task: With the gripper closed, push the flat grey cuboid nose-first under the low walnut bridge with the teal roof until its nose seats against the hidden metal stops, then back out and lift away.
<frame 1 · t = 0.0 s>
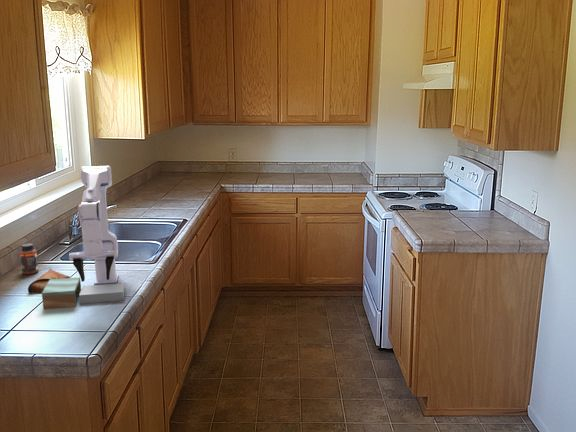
hand: (95, 279, 179), 10 cm above the worktop, fingers open, 7 cm apart
supplement bottle: (30, 272, 217), on the worktop
overhang bridge: (63, 300, 189), on the worktop
flat grey cuboid: (103, 297, 191), on the worktop
sunglasses case: (50, 286, 204), on the worktop
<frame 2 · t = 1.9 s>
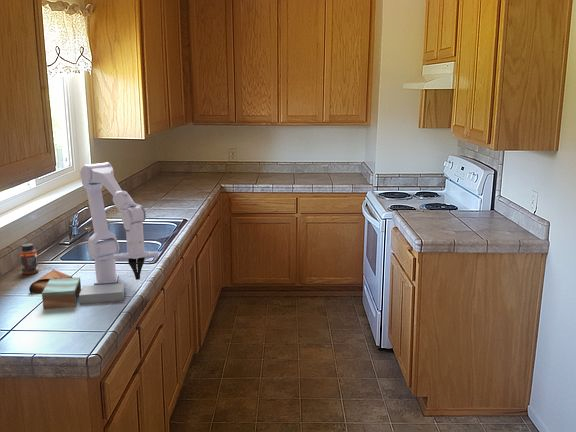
hand: (137, 278, 193), 6 cm above the worktop, fingers closed
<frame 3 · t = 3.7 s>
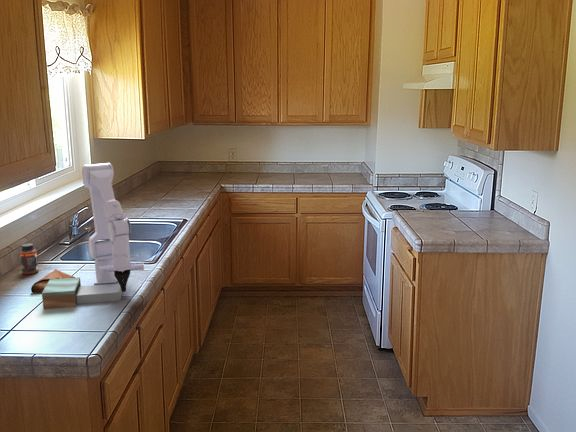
hand: (123, 290, 193), 2 cm above the worktop, fingers closed
flat grey cuboid: (100, 297, 191), on the worktop, touching gripper
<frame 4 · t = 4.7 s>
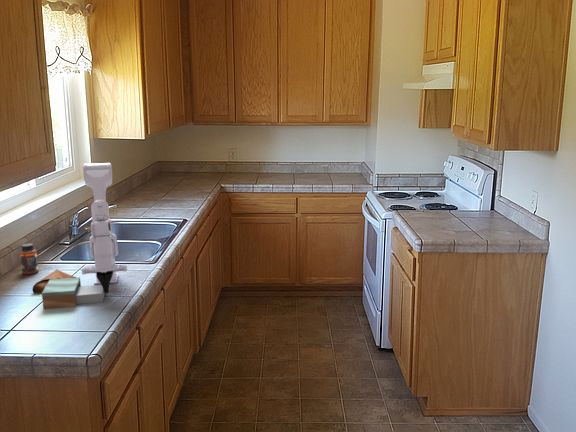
hand: (106, 292, 191), 2 cm above the worktop, fingers closed
flat grey cuboid: (82, 298, 190), on the worktop, touching gripper
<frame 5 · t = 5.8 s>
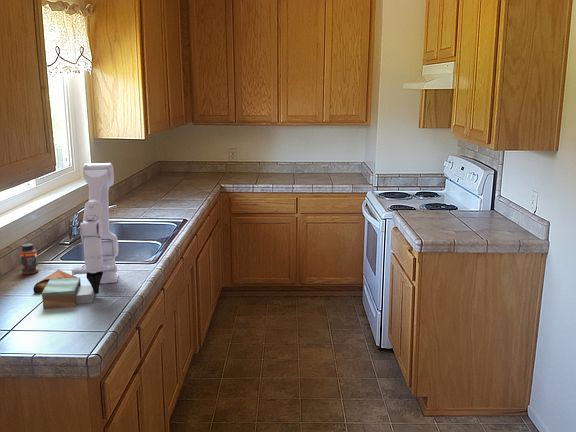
hand: (96, 292, 191), 2 cm above the worktop, fingers closed
flat grey cuboid: (72, 299, 189), on the worktop, touching gripper
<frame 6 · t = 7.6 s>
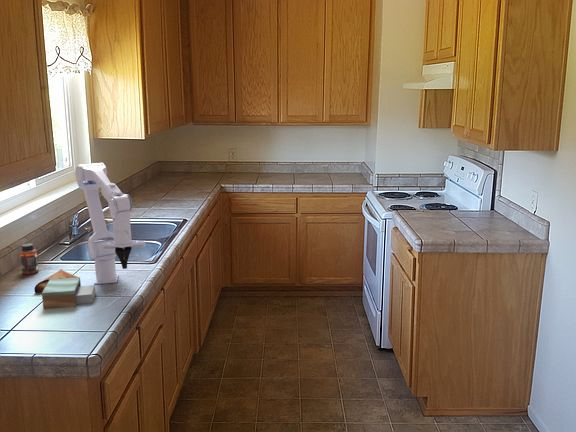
hand: (124, 267, 193), 9 cm above the worktop, fingers closed
flat grey cuboid: (72, 299, 189), on the worktop
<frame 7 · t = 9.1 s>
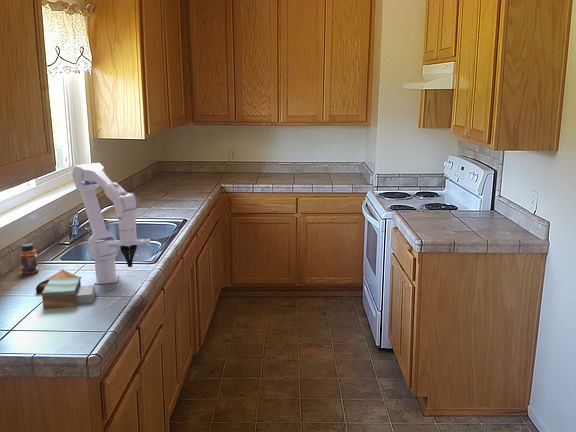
hand: (130, 266, 195), 9 cm above the worktop, fingers closed
at the end: flat grey cuboid 0.6 cm from the target spot on the overhang bridge, point 0.0 cm above the overhang bridge's base; flat grey cuboid tilted 0°; the gripper is holding nothing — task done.
